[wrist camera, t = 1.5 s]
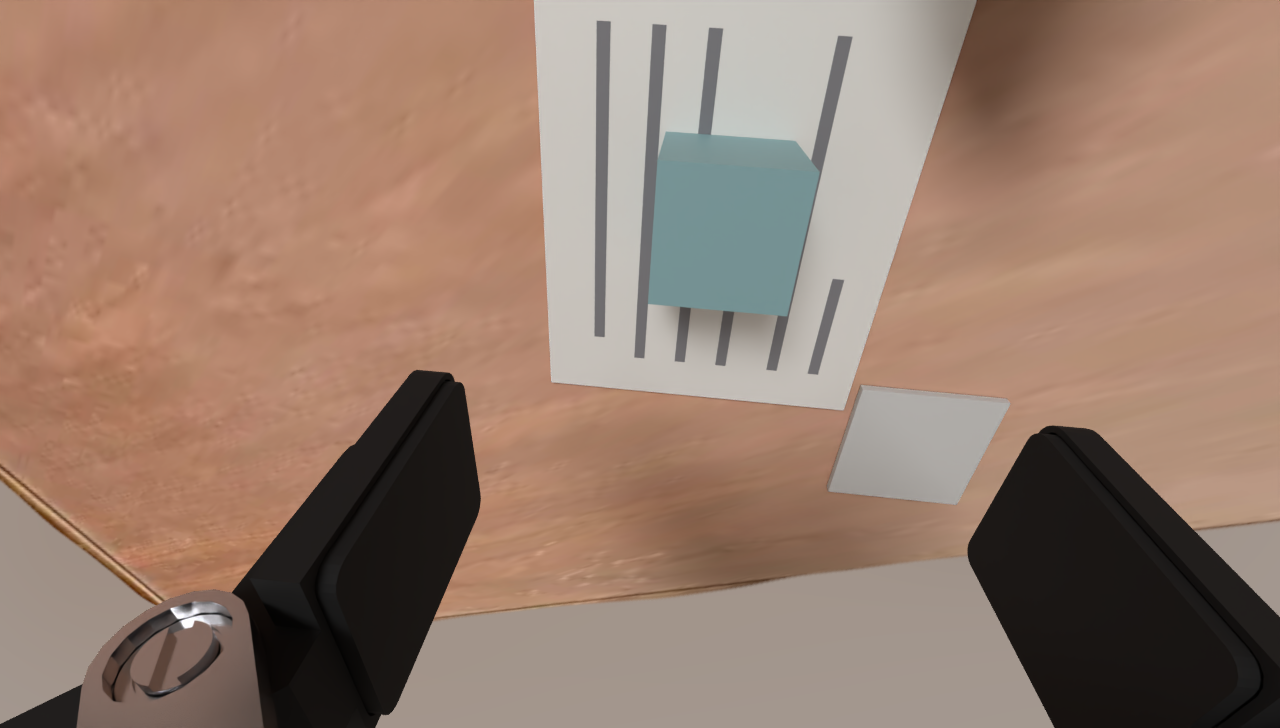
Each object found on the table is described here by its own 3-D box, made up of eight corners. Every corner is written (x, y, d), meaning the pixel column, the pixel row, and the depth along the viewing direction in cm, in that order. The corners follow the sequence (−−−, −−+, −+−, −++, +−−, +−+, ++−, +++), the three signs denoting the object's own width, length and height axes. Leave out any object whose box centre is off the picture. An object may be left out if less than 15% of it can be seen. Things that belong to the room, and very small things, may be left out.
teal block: (795, 140, 21) (819, 172, 17) (771, 263, 23) (787, 316, 19) (665, 131, 21) (657, 160, 17) (657, 253, 24) (648, 304, 20)
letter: (983, -28, 18) (986, -28, 18) (842, 407, 27) (843, 410, 27) (533, -53, 18) (531, -54, 18) (552, 379, 28) (551, 382, 28)
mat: (1006, 398, 26) (1010, 403, 26) (953, 499, 30) (956, 504, 30) (860, 384, 27) (862, 389, 26) (826, 486, 30) (828, 491, 30)
